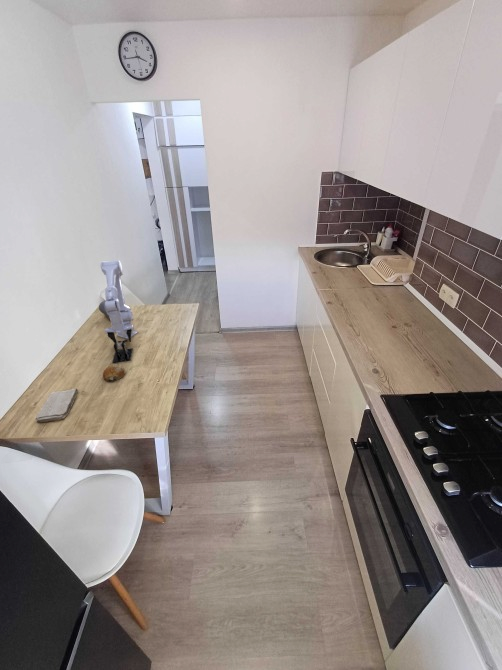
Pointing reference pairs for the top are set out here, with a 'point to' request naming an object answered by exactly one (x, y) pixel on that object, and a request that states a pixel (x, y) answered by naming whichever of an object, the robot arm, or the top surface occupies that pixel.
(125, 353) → the tap bracket
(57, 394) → the washcloth
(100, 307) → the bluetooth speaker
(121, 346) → the tap lever
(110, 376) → the bread roll
